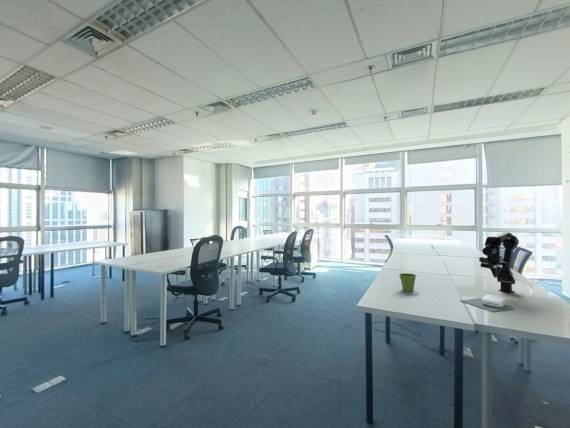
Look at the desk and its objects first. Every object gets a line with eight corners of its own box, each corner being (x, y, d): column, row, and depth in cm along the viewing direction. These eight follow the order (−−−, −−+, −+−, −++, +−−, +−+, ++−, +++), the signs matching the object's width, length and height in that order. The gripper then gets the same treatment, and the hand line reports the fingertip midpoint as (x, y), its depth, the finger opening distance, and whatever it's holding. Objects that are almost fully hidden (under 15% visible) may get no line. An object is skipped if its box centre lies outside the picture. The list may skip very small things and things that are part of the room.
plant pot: (414, 288, 196) (414, 273, 196) (418, 292, 184) (418, 276, 184) (397, 287, 199) (397, 272, 199) (400, 292, 187) (400, 276, 187)
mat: (479, 298, 169) (479, 298, 169) (513, 308, 150) (513, 308, 150) (460, 301, 165) (460, 300, 165) (493, 312, 146) (493, 311, 146)
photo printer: (486, 300, 164) (480, 305, 156) (486, 293, 164) (480, 297, 156) (507, 304, 156) (502, 309, 148) (507, 297, 156) (502, 302, 148)
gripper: (492, 252, 186) (492, 273, 186) (472, 253, 181) (473, 275, 181) (509, 254, 176) (510, 277, 176) (488, 255, 171) (489, 279, 170)
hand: (495, 277), depth 176 cm, fingers closed
